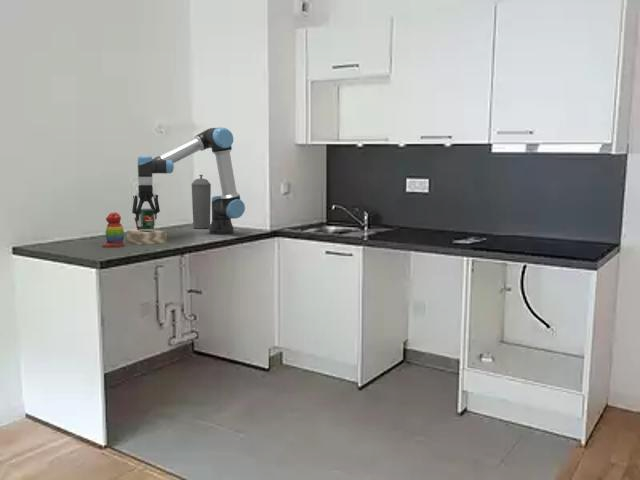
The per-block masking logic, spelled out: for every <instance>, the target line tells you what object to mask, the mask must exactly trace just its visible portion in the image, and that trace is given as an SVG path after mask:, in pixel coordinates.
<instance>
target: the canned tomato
mask: <svg viewBox="0 0 640 480" xmlns="http://www.w3.org/2000/svg"><path fill="white" fill-rule="evenodd" d="M153 210H154V209H151V208H141V210H140V213H139V215H141V227H139V229H141V230H151V229H155V226H154V211H153Z"/></svg>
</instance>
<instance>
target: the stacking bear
mask: <svg viewBox="0 0 640 480" xmlns="http://www.w3.org/2000/svg"><path fill="white" fill-rule="evenodd" d="M121 219H122V216H121V214H120V213H117V212H111V213H108V215H107V217H105V221H106V222H107V224H106V228H105V238H106V242H104V243H103V244H102V248H121V247H124V246H125V243H124V238H125V230H124V227H123V225H122V223H121Z"/></svg>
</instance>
